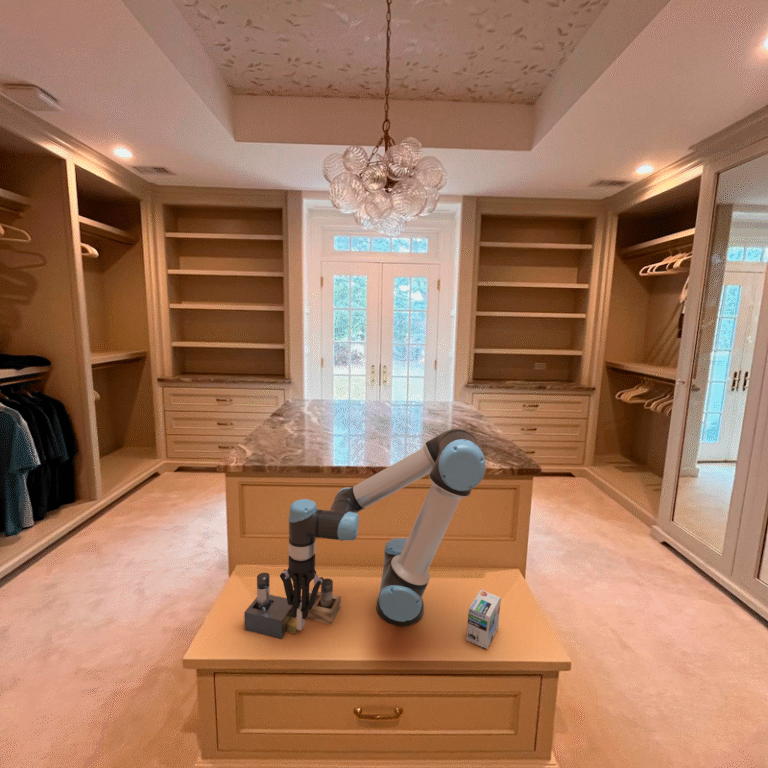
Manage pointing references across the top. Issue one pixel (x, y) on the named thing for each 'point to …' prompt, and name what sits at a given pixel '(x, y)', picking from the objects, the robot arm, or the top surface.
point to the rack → (324, 604)
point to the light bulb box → (483, 618)
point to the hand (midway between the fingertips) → (300, 626)
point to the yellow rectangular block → (291, 625)
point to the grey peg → (263, 591)
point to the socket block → (269, 617)
